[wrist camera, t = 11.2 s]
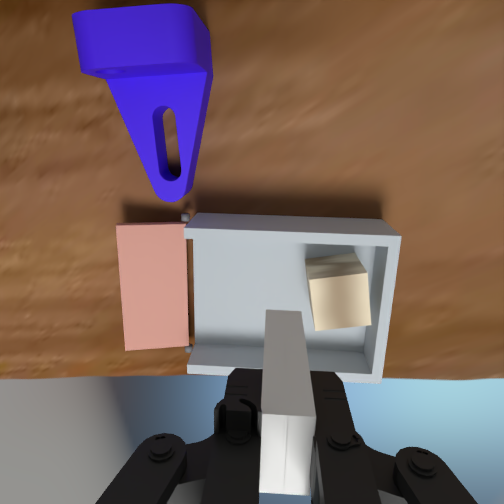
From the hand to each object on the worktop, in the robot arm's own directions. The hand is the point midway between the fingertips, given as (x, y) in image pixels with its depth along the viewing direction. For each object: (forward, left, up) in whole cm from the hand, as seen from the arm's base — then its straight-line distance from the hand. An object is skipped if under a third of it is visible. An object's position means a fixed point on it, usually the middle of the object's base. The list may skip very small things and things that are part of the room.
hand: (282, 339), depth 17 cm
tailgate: (-15, -11, -32) cm, 37 cm away
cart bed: (+1, -11, -34) cm, 36 cm away
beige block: (+7, -9, -31) cm, 33 cm away
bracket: (-13, +9, -35) cm, 38 cm away
